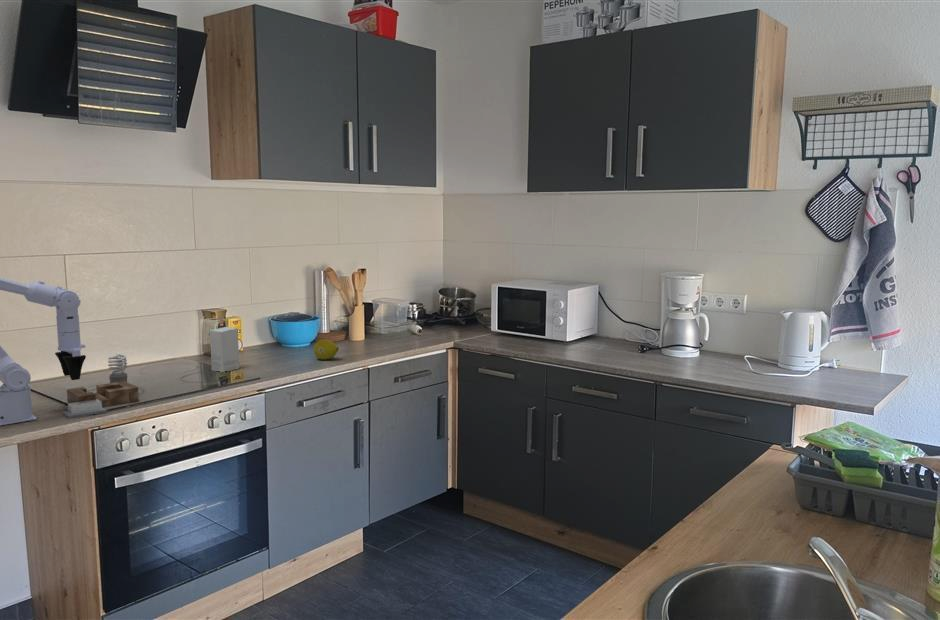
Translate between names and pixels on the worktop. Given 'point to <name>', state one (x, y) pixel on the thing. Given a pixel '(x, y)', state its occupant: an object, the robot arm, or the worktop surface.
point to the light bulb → (118, 368)
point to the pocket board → (106, 394)
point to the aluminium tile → (84, 406)
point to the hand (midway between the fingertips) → (71, 377)
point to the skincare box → (224, 349)
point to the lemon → (325, 349)
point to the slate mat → (83, 413)
